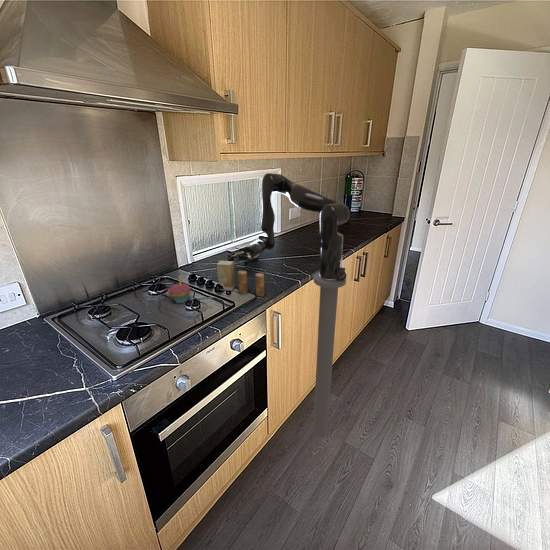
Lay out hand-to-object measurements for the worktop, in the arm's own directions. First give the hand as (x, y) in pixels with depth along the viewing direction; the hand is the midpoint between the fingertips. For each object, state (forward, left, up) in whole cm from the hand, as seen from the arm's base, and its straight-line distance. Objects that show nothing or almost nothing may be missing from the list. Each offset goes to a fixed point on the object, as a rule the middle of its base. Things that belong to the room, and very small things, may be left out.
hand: (236, 262), depth 132 cm
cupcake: (+12, +26, -9) cm, 30 cm away
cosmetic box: (0, +10, -9) cm, 13 cm away
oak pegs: (-12, +10, -9) cm, 18 cm away
